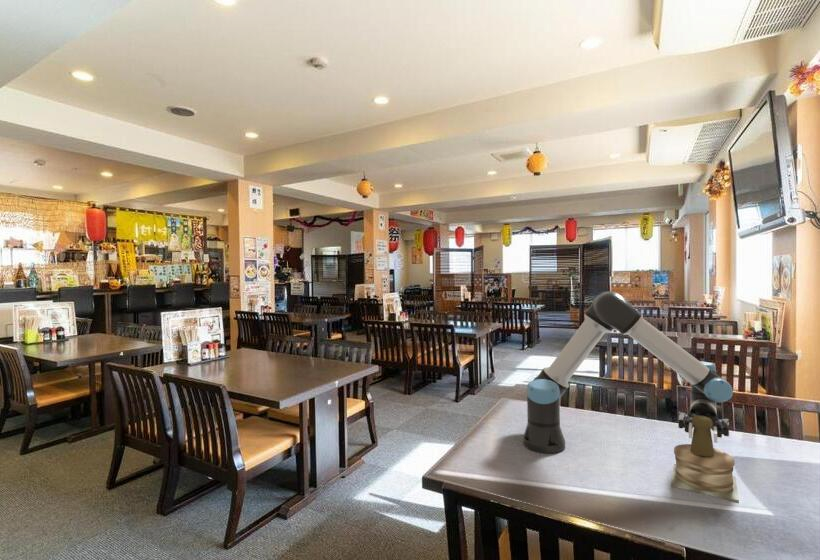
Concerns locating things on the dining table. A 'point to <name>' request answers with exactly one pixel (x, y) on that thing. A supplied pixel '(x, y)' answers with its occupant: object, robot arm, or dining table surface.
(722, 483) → the stack of pancakes
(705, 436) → the cork
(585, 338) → the robot arm
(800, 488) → the dining table surface
